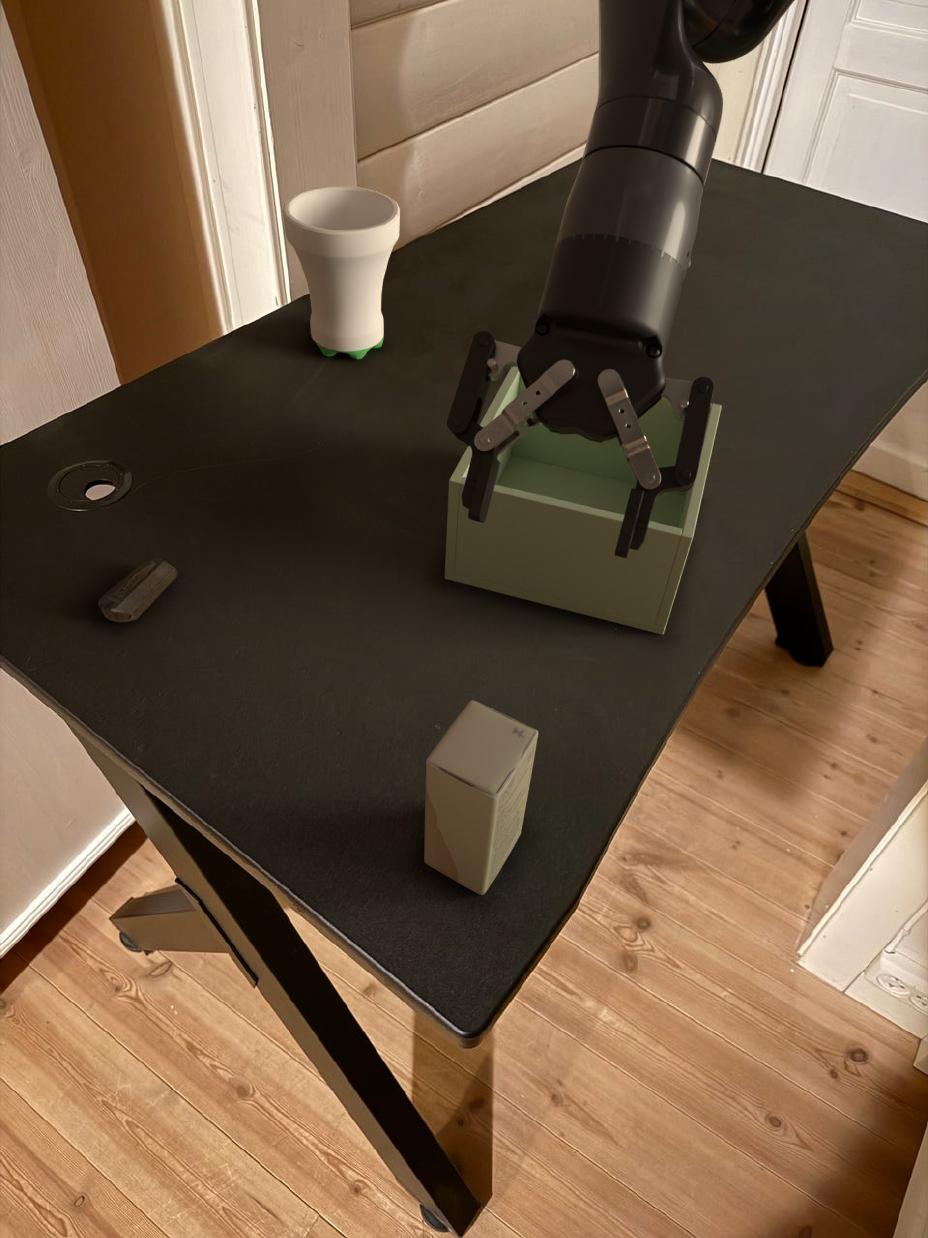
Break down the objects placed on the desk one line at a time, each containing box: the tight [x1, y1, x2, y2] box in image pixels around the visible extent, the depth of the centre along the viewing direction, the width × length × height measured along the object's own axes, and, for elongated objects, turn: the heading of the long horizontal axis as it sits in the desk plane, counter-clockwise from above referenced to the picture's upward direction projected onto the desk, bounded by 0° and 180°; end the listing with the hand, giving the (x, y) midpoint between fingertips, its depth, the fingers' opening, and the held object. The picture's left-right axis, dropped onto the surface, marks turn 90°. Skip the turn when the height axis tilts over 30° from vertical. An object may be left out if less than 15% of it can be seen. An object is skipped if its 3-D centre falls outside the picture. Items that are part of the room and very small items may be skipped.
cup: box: [282, 185, 401, 360], centre depth 91 cm, size 11×11×14 cm
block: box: [98, 557, 179, 623], centre depth 68 cm, size 4×6×2 cm, turn 153°
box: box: [423, 699, 539, 896], centre depth 51 cm, size 5×4×11 cm
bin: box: [444, 367, 723, 636], centre depth 73 cm, size 18×18×10 cm
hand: (547, 538), depth 52 cm, fingers open, 8 cm apart
